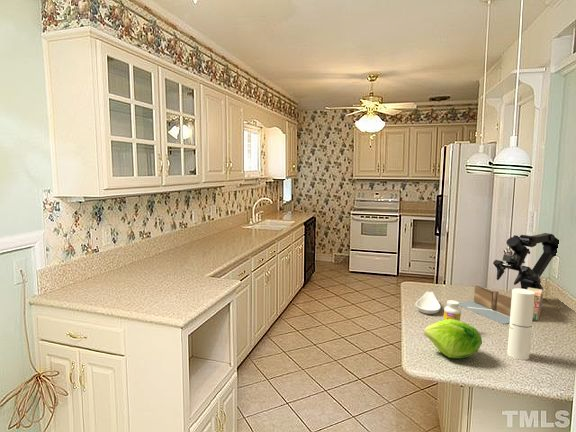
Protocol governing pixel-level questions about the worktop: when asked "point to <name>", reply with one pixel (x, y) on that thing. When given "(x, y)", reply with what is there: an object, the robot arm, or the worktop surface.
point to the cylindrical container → (520, 323)
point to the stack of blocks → (537, 302)
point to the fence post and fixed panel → (501, 303)
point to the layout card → (486, 312)
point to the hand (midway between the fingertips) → (505, 282)
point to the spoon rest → (428, 303)
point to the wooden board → (483, 296)
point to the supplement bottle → (452, 310)
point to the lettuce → (454, 338)
